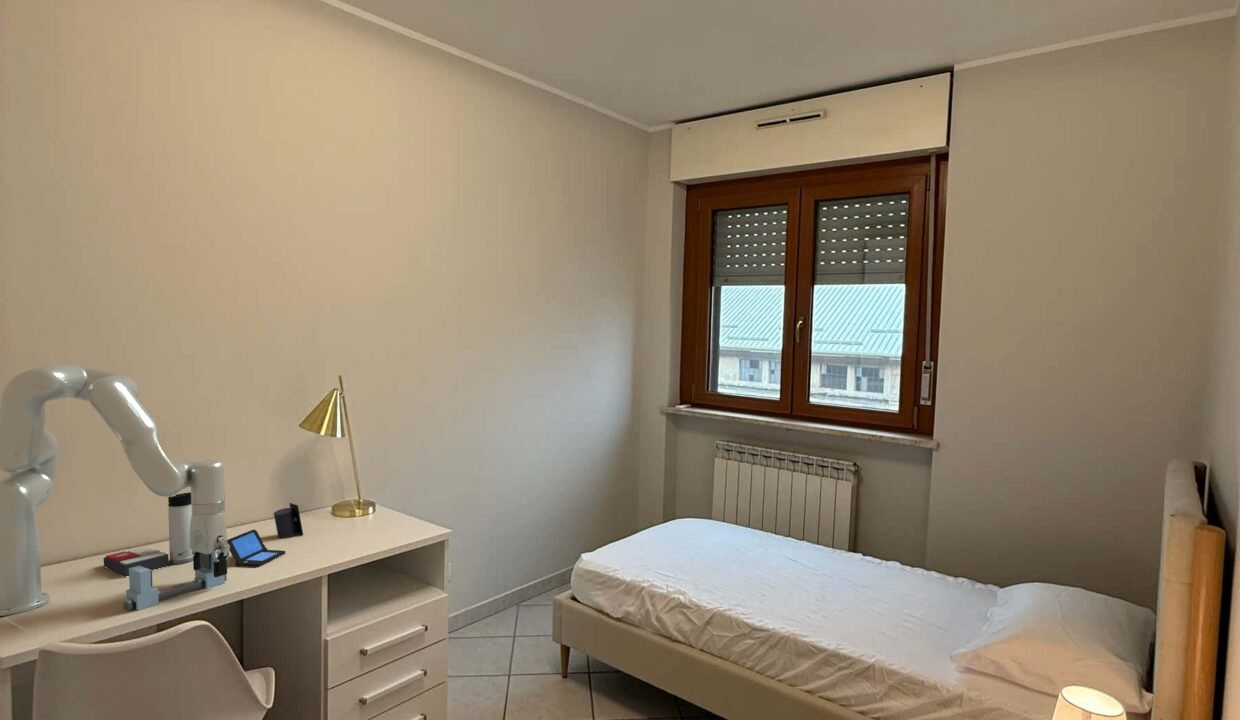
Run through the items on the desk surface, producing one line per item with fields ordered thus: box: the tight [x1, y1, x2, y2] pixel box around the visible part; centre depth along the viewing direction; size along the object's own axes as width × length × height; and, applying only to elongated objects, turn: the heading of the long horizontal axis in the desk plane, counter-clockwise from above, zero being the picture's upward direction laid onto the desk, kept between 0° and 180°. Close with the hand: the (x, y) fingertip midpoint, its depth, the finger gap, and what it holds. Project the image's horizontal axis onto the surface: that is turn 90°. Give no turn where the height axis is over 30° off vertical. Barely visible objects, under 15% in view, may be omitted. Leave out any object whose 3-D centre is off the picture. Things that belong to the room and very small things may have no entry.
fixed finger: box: [125, 566, 159, 611], centre depth 164 cm, size 6×4×9 cm
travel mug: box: [167, 491, 194, 565], centre depth 196 cm, size 6×7×20 cm
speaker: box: [273, 502, 304, 539], centre depth 220 cm, size 8×6×10 cm
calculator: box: [103, 546, 170, 578], centre depth 192 cm, size 11×4×15 cm
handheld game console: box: [227, 529, 286, 568], centre depth 197 cm, size 12×11×7 cm
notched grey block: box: [194, 549, 226, 589], centre depth 178 cm, size 6×4×9 cm
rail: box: [123, 574, 228, 612], centre depth 171 cm, size 23×2×3 cm, turn 149°
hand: (210, 572), depth 178 cm, fingers open, 9 cm apart
